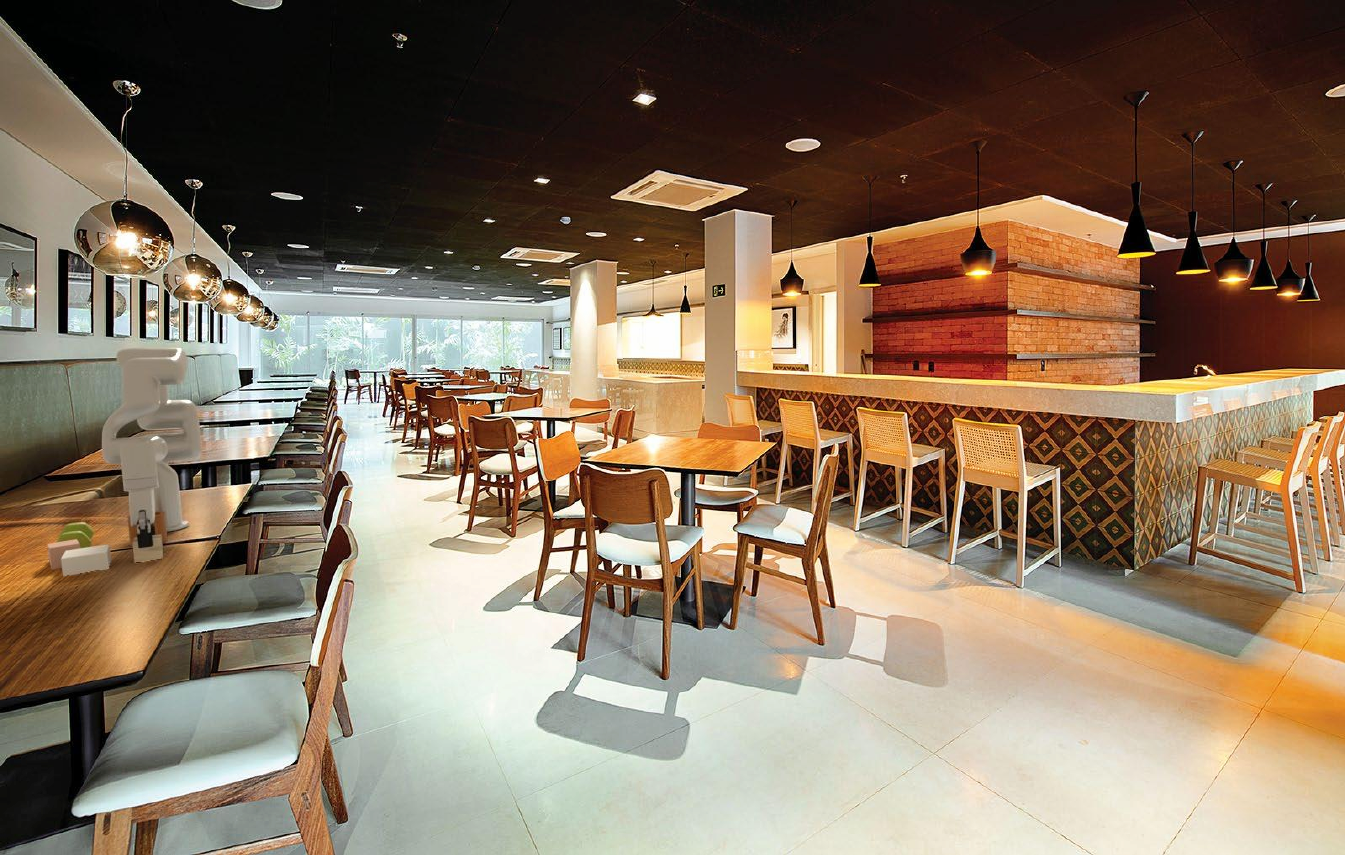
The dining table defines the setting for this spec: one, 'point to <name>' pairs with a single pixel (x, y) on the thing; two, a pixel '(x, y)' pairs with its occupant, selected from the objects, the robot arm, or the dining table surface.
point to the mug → (158, 523)
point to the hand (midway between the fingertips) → (147, 543)
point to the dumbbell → (77, 533)
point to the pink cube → (60, 551)
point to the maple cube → (148, 550)
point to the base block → (86, 560)
